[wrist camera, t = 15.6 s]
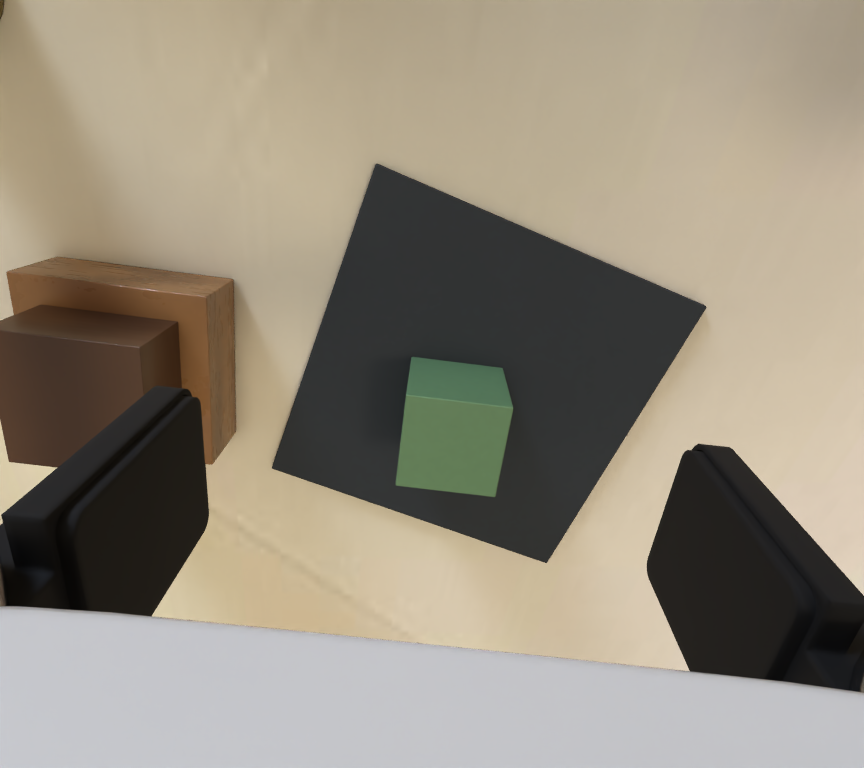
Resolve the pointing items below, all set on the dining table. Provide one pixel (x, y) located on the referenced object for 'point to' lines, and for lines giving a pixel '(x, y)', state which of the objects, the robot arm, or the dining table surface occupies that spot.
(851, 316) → the dining table surface
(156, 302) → the oak block
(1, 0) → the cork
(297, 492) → the dining table surface
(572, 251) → the mat
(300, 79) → the dining table surface
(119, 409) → the walnut block
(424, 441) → the green block
